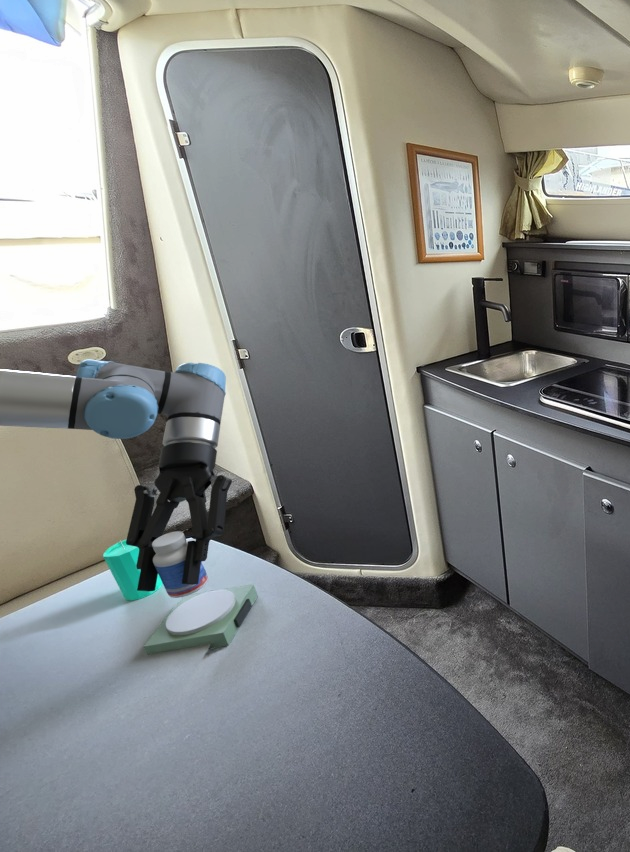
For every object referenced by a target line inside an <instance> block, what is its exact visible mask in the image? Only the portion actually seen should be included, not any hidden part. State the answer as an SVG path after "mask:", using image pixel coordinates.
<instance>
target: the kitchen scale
mask: <svg viewBox="0 0 630 852" xmlns="http://www.w3.org/2000/svg"><path fill="white" fill-rule="evenodd" d="M258 597H259V594H258V592H257V590H256V587H255V585H254V583H251V584H246V585H239V586H233V587H228V588H221V589H214V590H209V591H208V590H207V591H202V592H195V593H193V594H190V595H188V596H185V597H180V599H179V601H177V603H176V605H174V607H173V608H172V610H170V612H169V613H168V614H167V616H166V617H165V618H164V620H162V622H161V624H160V625H159V626H158V627H157V629H156V630H155V631H154V633H152V635H151V636H150V637H149V639H148V640H147V641H146V642H145V644H144V645H143V649H144V651H145V653H146V655H153V654H159V653H163V652H169V651H175V650H180V649H187V648H191V647H197V646H202V645H208V644H210V646H209V647H208V650H212V649H216V648H223V647H228V646H230V644H231V642H232V641H233V639H234V637H235V636H236V634H237V632H238V631H239V629H240V627H241V626H242V624H243V622H244V621H245V619H246V618H247V616H248V615H249V612H250V610H251V608H252V607H253V605H254V603H255V602H256V600H257V599H258Z"/></svg>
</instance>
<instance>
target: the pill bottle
mask: <svg viewBox="0 0 630 852" xmlns="http://www.w3.org/2000/svg"><path fill="white" fill-rule="evenodd" d="M187 545H188V540H187V537H186V535H185V533H184V532H183V531H180V530H176V531H170V532H168V533H165V534H162V536H160V537H158V538H157V539H155V540H154V541H153V543H152V547H153V549H154V551H155V553H156V554H155V555H154V557H153V563H154V566H155V568H156V570H157V572H158V574H159V576H160V578H161V581H162V583H163V584H162V586H163V588H164V589H165V591H166V594H167V595H168V597H170V598H171V599H172V598H173V599H179V598H180V599H181V598H182V597H185V596H188V595H190V594H196V593H198V591H200V590H201V589H202V588H204V587H205V585H206V584H207V583H208V581H209V578H208V573H207V571H206V569H205V566H204V564H203V561H201V567H200V574H199V581H198V584H195V585H190V584H182V579H183V572H184V565H185V559H186V552H187Z"/></svg>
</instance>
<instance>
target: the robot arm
mask: <svg viewBox="0 0 630 852" xmlns="http://www.w3.org/2000/svg"><path fill="white" fill-rule="evenodd" d="M226 383H227V377H226V374H225V372H224V371H223V370H222V369H220V368H219V367H217V366H215V365H212V364H209V363H205V362H198V363H194V362H186V363H182V364H179V365H178V366H177V367H176V369H175V371H164V370H159V369H153V368H147V367H143V366H142V367H141V366H135V365H131V364H130V365H129V364H125V363H120V362H119V363H118V362H115V361H112V360H108V361H106V360H98V359H89V358H88V359H84V360H82V361H80V363H79V365H78V369H77V372H76V376H74V375H63V374H55V373H43V372H34V371H23V370H14V369H13V370H12V369H4V368H3V369H2V368H0V427H19V428H43V429H64V430H66V429H68V430H83V431H84V430H85V431H86V430H87V431H93V432H95V433H96V434H98V435H99V436H102V437H105V438H109V439H114V440H125V439H132V438H135V437H138V436H140V435H141V434H144V433H146V432H147V431H148V430H150V428H151V427H152V426H153V425H154V423H155V422H156V419H157V417H158V415H167V418H166V423H165V427H164V431H163V438H162V445H163V446H162V448H161V450H160V454H159V461H158V470H159V474H158V475H157V477H156V478H155V479H154V482H151V483H148V484H146V485H142V484H137V485H136V486H135V487H134V497H135V500H134V501H135V502H134V506H133V510H132V515H131V519H130V523H129V527H128V532H127V536H126V539H127V540H126V539H125V540H126V544H127V545H131V546H136V547H138V548H139V555H138V560H137V565H136V566H137V569H140V570H141V572H140V577H139V583H138V588H137V591H155V588H156V582H157V576H158V572H157V570H156V568H155V566H154V563H153V557H154V555H155V554H156V553H155V551H154V549H153V547H152V543H153V541H154V540H155V539H157V538H158V537H160V536H162V535H164V532H165V530H166V528H167V526H168V523H169V521H170V520H171V517H172V515H173V513H174V510H175V509H177V508H178V507H179V504H180V503H182V502H184V501H186V502H187V504H188V511H189V516H190V521H191V527H192V531H193V536H191V539H192V540H187V542H188V545H187V552H186V559H185V565H184V572H183V579H182V584H190V585H195V584H198V581H199V574H200V567H201V561H202V562H206V560H207V558H208V553H209V545H210V541H211V540H212V539H214V538H217V537H221V536H223V535H224V533H225V526H226V525H225V523H226V511H227V503H228V502H227V501H228V492H229V490H230V487H231V485H232V483H233V479H231V478H229V477H227V476H225V475H223V474H220V475H216V474H215V472H214V469H215V467H216V462H217V456H218V451H217V449H216V448H217V447H218V445H219V438H220V433H221V432H220V431H221V423H222V416H223V410H224V405H225V404H224V403H225V398H226V394H227V392H226V386H227V385H226ZM210 486H211V490H210V498H209V507H208V511H207V505H206V503H207V496H206V491H207V490H208V488H209V487H210ZM158 491H159V494H158ZM157 496H158V497H157ZM155 497H157V499H156V501H155ZM155 505H156V506H155ZM154 506H155V508H154ZM155 592H156V591H155Z"/></svg>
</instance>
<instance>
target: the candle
mask: <svg viewBox="0 0 630 852" xmlns="http://www.w3.org/2000/svg"><path fill="white" fill-rule="evenodd" d="M126 540H127V538H126V539H123V540H121V539H120V540H119V542H116V543H115V544H113V545H111V546H110V547H108V548H106V550H105V551H104V552H103V554H102V557H103V560H104V561H105V563H106V565H107V566H108V568H109V571H110V573H111V574H112V576H113V578H114V580H115V582H116V584H117V586H118V588H119V590H120V592H121V594H122V596H123V598H124V599H125V600H126V601H136V600H141V599H143V598H146V597H148V596H151V595H152V594H153V593H155V592H157V591H158V590H160V588H161V587H162V586H163V583H162V581H161V578H160V576H159V574H158V576H157V582H156V588H155V591H137V588H138V583H139V577H140V572H141V570H140V569H137V566H136V565H137V560H138V555H139V548H138V547H136V546H131V545H127V544H126Z"/></svg>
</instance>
